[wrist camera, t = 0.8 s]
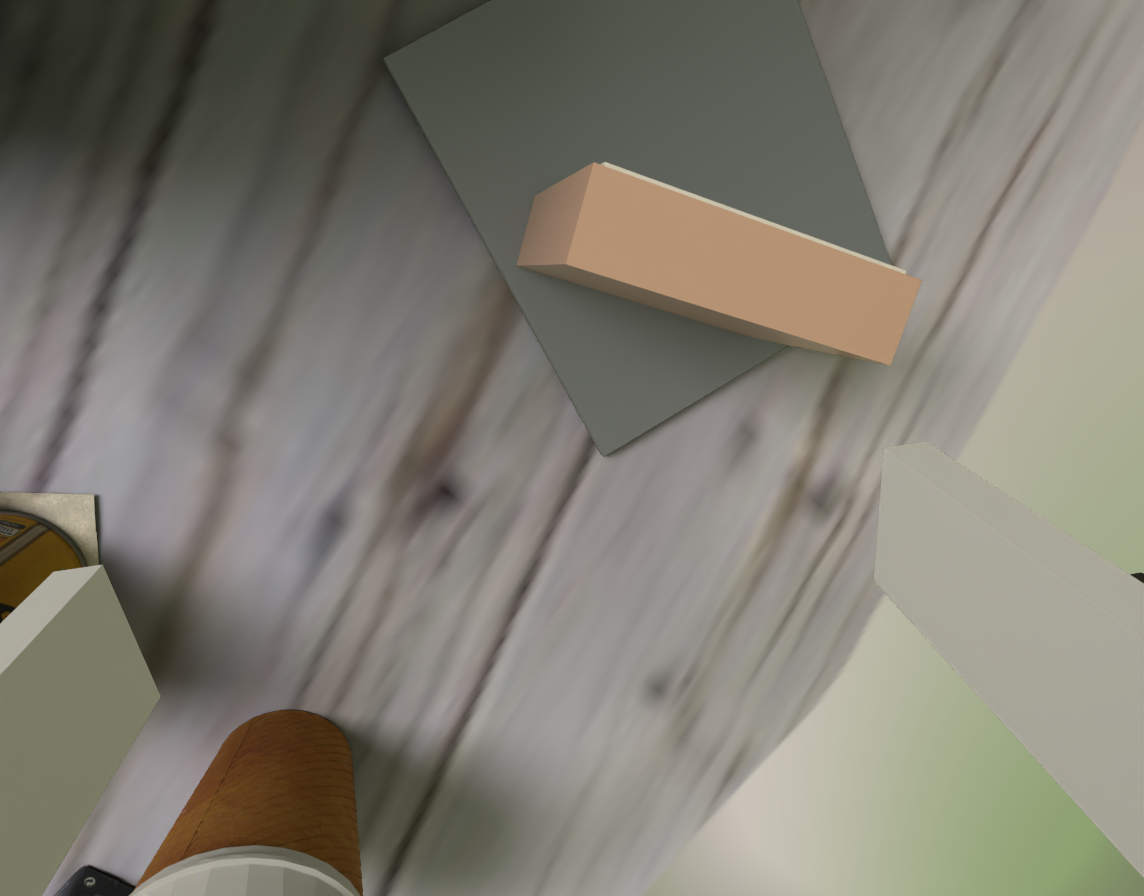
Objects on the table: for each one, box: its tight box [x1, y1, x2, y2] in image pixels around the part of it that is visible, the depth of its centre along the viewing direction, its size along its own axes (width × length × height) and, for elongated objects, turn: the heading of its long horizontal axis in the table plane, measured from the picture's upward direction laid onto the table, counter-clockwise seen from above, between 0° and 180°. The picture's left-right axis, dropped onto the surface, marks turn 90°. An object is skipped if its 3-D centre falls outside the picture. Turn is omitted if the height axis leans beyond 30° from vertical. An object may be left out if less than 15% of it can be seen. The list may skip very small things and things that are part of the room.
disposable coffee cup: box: [129, 710, 363, 896], centre depth 29 cm, size 10×10×12 cm
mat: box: [384, 0, 891, 457], centre depth 31 cm, size 19×17×1 cm
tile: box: [516, 162, 922, 366], centre depth 27 cm, size 3×12×10 cm, turn 74°
